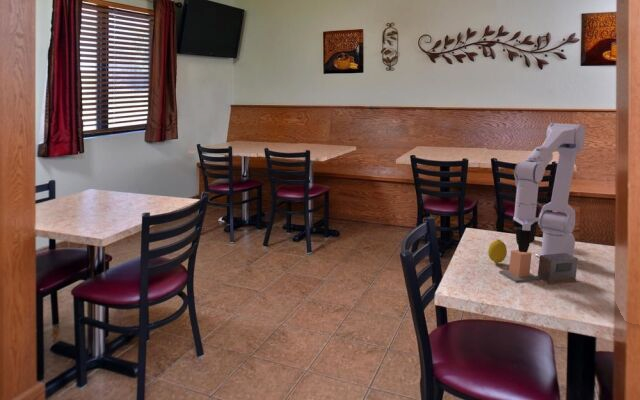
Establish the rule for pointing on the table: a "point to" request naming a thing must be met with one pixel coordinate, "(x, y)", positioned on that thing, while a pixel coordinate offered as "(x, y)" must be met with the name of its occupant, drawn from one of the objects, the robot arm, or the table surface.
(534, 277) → the mat
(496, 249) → the lemon
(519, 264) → the terracotta block
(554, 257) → the parts unit
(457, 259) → the table surface
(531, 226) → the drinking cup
